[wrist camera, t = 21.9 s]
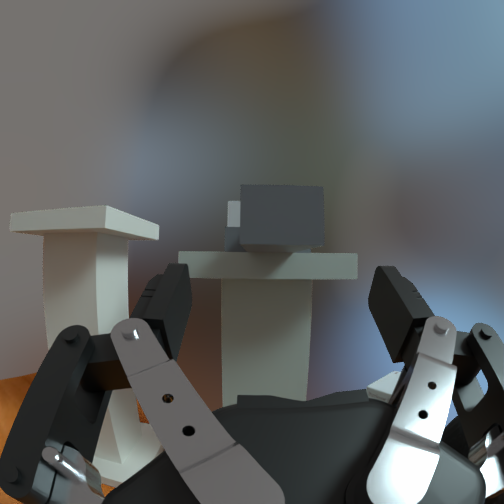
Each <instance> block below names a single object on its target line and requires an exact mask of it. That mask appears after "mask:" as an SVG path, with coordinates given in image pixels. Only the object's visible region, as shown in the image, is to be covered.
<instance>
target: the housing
mask: <svg viewBox="0 0 504 504" xmlns="http://www.w3.org/2000/svg"><path fill="white" fill-rule="evenodd" d="M319 246H324V195H323V187H318V186H294V185H241V198H240V201H228V226H227V227H225V252H272V253H311V248H315V247H319Z"/></svg>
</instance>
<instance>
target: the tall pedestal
mask: <svg viewBox="0 0 504 504" xmlns="http://www.w3.org/2000/svg"><path fill="white" fill-rule="evenodd" d="M9 231H11V232H18V233H25V234H32V235H40V236H44V242H43V295H44V311H45V323H46V333H47V341H48V349H49V350H50V348H51V346H52V344H53V343H54V341H55V339H56V337H57V336H58V334H59V333H60V332H61V331H62V330H63V329H65V328H67V327H69V326H73V325H82V326H84V327H86V328H87V329H88V330H89V333H90V335H91V336H92V335H100V334H108V333H111V330H112V328H113V327H114V326H115V325H116V324H117V323H118V322H120V321H122V320H125V319H129V314H128V240H158V238H159V225H157V224H154V223H151V222H148V221H146V220H143V219H140V218H138V217H136V216H133V215H130V214H128V213H125V212H122V211H120V210H117V209H115V208H112V207H109V206H107V205H104V206H89V207H74V208H62V209H50V210H39V211H30V212H20V213H12V214H11V216H10V229H9ZM163 450H164V448H163V446H162V444H161V443H160V441H159V439H158V437H157V436H156V434H155V432H154V430H153V429H152V427H151V425H150V424H147V423H141V422H140V420H139V414H138V408H137V401H136V396H135V393H134V391H133V389H132V388H127V389H118V390H113V391H112V394H111V397H110V401H109V404H108V407H107V410H106V414H105V417H104V421H103V424H102V428H101V431H100V435H99V439H98V443H97V446H96V450H95V454H94V458H93V462H92V464H93V465H94V466H95V467H96V468H97V469H98V471H99V473H100V476H101V483H103V484H106V485H109V486H112V487H115V488H116V487H117V486H119V485H120V484H122V483H123V482H124V481H126V480H127V479H128V478H130V477H131V476H132V475H134V474H135V473H136V472H138V471H139V470H140V469H142V468H143V467H144V466H145V465H147V464H148V463H149V462H151V461H152V460H153V459H154V458H156V457H157V456H158V455H159V454H161V453H162V452H163Z"/></svg>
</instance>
